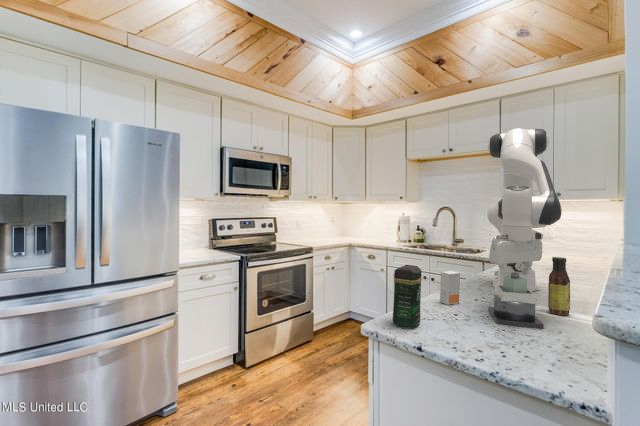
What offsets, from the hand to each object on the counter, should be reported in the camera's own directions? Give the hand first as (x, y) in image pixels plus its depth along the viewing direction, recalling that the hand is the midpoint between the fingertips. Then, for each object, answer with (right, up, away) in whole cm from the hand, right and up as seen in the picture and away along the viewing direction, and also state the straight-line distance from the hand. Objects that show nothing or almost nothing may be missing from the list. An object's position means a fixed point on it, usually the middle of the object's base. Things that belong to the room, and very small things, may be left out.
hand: (515, 275), depth 109 cm
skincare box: (-15, -14, +17) cm, 27 cm away
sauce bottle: (+19, -15, +7) cm, 25 cm away
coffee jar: (-38, -15, -5) cm, 41 cm away
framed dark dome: (0, -15, 0) cm, 15 cm away
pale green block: (0, -8, 0) cm, 8 cm away
